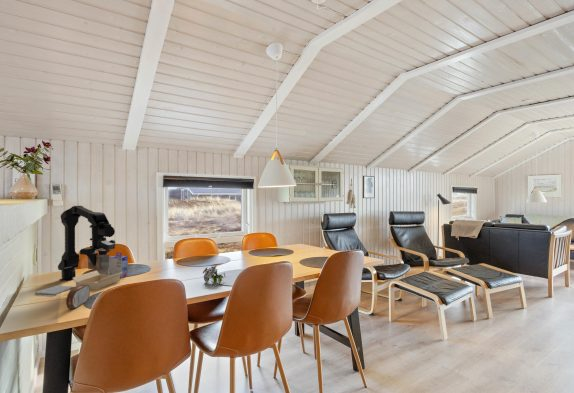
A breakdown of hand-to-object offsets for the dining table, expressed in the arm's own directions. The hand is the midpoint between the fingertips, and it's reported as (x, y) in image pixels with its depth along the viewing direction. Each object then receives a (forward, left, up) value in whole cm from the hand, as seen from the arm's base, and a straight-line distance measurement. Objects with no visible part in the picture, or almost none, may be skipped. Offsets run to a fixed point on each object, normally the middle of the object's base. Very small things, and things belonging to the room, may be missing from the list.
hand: (98, 264), depth 176 cm
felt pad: (-13, -14, -11) cm, 22 cm away
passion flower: (+61, +14, -11) cm, 64 cm away
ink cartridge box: (-1, +16, -11) cm, 20 cm away
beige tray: (0, 0, -11) cm, 11 cm away
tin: (+16, -29, -12) cm, 35 cm away
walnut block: (0, 0, -2) cm, 2 cm away
